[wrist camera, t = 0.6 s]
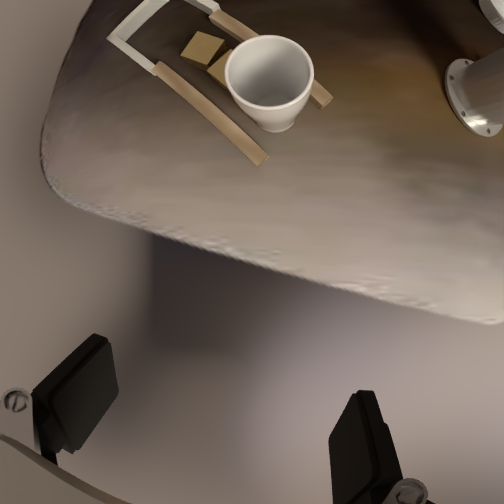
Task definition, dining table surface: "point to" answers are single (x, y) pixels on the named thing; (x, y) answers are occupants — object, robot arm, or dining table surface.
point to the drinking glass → (270, 80)
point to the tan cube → (204, 51)
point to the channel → (211, 111)
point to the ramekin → (494, 12)
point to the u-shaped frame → (138, 17)
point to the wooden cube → (220, 70)
